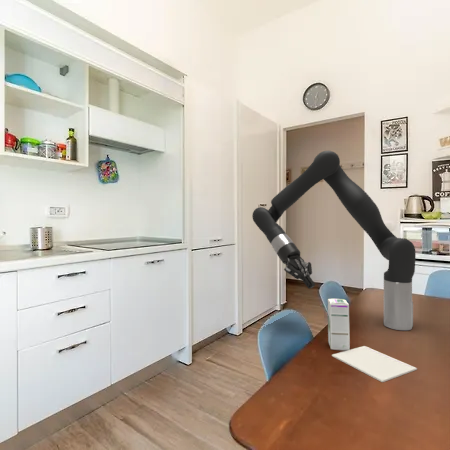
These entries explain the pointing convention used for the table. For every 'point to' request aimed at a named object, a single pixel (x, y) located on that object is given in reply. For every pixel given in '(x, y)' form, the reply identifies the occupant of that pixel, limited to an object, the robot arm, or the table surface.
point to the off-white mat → (374, 363)
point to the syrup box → (338, 324)
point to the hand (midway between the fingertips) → (312, 286)
